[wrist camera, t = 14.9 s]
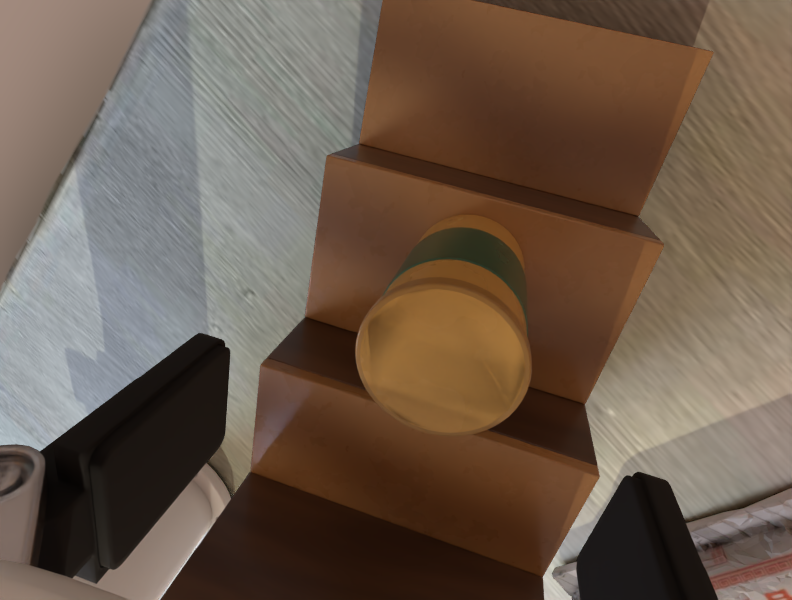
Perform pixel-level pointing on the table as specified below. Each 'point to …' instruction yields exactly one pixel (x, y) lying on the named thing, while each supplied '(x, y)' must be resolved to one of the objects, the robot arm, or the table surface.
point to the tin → (451, 331)
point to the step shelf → (380, 261)
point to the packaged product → (736, 552)
